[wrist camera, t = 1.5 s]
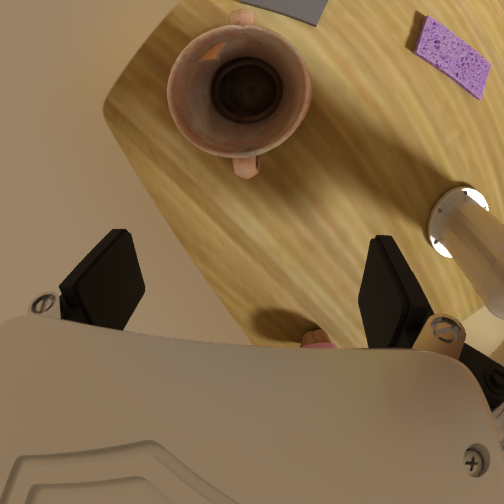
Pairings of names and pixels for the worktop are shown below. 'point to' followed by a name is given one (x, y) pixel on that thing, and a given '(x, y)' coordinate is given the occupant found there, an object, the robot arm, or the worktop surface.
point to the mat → (293, 8)
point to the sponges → (452, 57)
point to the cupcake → (316, 340)
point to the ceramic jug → (239, 92)
